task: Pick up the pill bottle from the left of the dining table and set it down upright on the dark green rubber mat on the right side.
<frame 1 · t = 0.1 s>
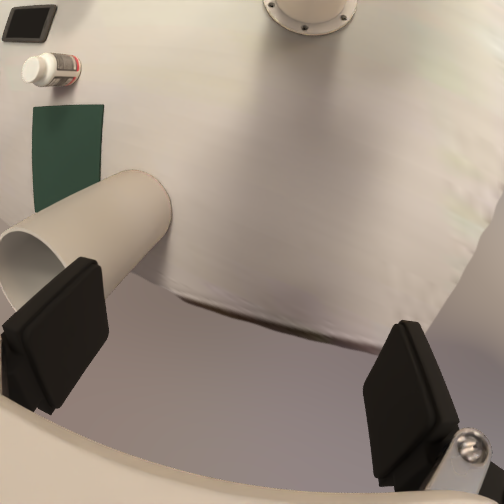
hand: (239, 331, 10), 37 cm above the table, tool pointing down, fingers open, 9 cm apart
cell phone: (28, 23, 36), on the table
pill bottle: (70, 70, 40), on the table
cylinder vase: (137, 207, 49), on the table
right mat: (63, 162, 47), on the table
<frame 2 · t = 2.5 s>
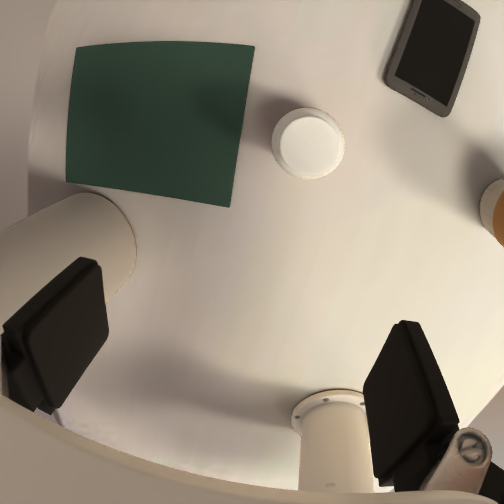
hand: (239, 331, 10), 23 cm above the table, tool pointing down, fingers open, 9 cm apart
cell phone: (434, 45, 22), on the table
coffee cup: (497, 205, 28), on the table
pill bottle: (305, 137, 29), on the table
cylinder vase: (95, 240, 36), on the table
right mat: (144, 116, 29), on the table
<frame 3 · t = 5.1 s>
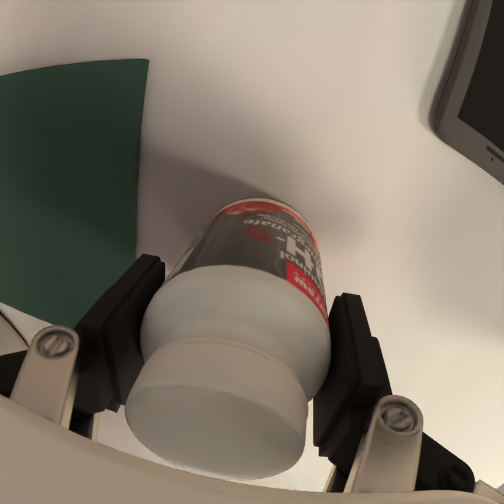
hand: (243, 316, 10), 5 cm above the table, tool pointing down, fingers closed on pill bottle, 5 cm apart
pill bottle: (259, 250, 15), on the table, touching gripper
cylinder vase: (2, 349, 22), on the table
right mat: (4, 204, 15), on the table
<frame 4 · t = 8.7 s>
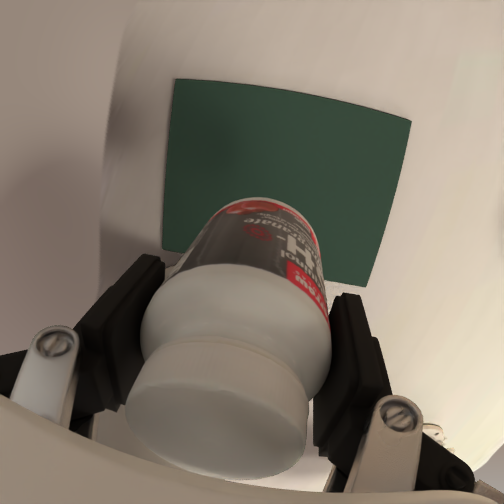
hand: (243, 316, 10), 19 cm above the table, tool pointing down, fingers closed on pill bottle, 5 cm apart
pill bottle: (259, 249, 15), point 14 cm above the table, touching gripper
cylinder vase: (198, 312, 34), on the table
right mat: (279, 184, 27), on the table
when the fingers open (5 cm above the table, at t = 12.2 s): pill bottle stays where it is, resting on right mat.
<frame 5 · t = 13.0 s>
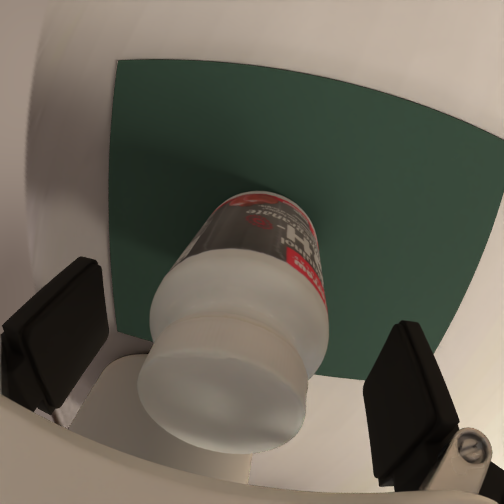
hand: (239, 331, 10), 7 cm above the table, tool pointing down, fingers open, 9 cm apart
pill bottle: (260, 241, 16), resting on right mat
cylinder vase: (177, 405, 23), on the table
right mat: (300, 246, 16), on the table
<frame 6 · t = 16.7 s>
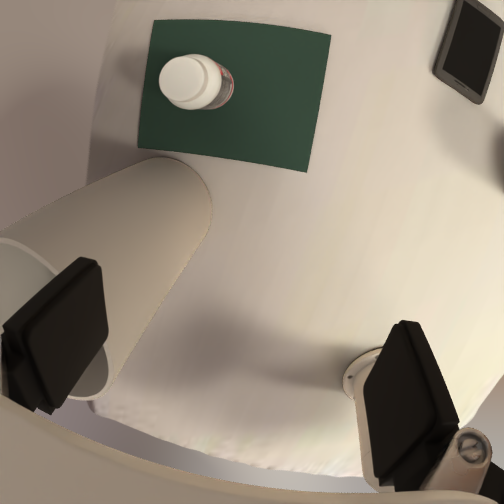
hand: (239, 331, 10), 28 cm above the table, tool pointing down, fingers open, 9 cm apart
cell phone: (470, 46, 25), on the table
pill bottle: (210, 86, 32), resting on right mat
cylinder vase: (165, 205, 39), on the table
right mat: (228, 87, 32), on the table
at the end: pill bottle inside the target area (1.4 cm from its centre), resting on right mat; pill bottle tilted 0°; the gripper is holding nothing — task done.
